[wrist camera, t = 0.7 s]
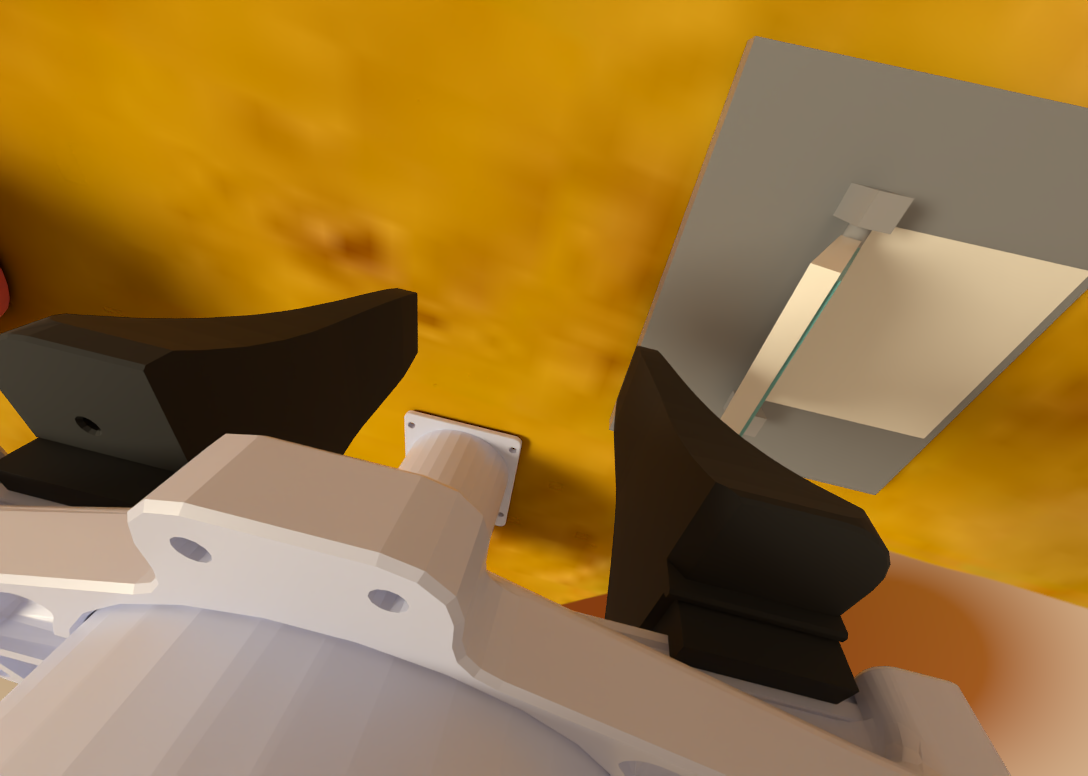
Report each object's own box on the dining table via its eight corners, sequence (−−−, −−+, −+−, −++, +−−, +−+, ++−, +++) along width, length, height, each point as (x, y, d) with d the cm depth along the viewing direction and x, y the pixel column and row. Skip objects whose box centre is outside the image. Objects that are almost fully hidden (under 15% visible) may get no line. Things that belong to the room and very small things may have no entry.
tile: (740, 402, 19) (756, 411, 19) (686, 478, 15) (706, 491, 14) (840, 235, 15) (864, 242, 14) (810, 263, 10) (845, 274, 10)
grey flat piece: (866, 482, 24) (894, 523, 22) (609, 419, 25) (608, 452, 22) (1202, 139, 14) (1328, 144, 11) (748, 40, 14) (774, 25, 12)
